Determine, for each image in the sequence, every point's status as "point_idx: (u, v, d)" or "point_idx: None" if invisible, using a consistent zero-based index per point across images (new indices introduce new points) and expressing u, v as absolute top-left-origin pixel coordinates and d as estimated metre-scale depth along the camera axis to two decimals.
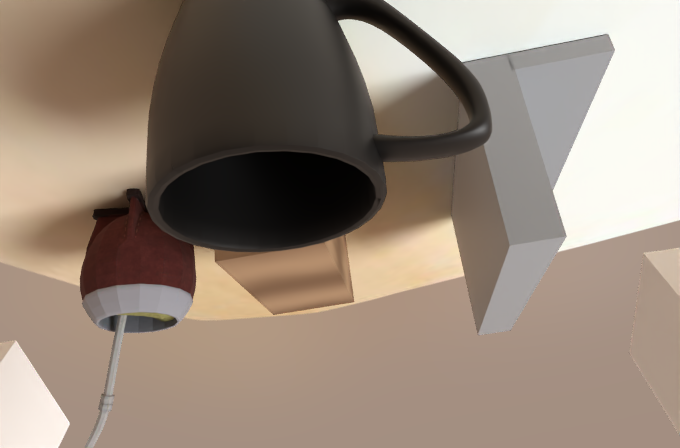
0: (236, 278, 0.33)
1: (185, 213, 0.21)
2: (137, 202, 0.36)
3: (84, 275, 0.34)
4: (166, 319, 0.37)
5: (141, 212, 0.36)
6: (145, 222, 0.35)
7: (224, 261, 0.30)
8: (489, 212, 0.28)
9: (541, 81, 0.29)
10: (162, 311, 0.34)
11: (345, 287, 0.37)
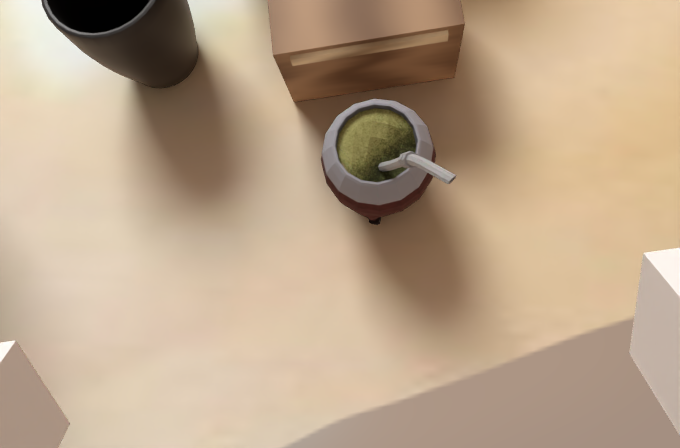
0: (321, 44, 0.35)
1: None
2: None
3: (337, 197, 0.34)
4: (403, 124, 0.33)
5: None
6: None
7: (275, 48, 0.35)
8: None
9: None
10: (349, 111, 0.33)
11: None
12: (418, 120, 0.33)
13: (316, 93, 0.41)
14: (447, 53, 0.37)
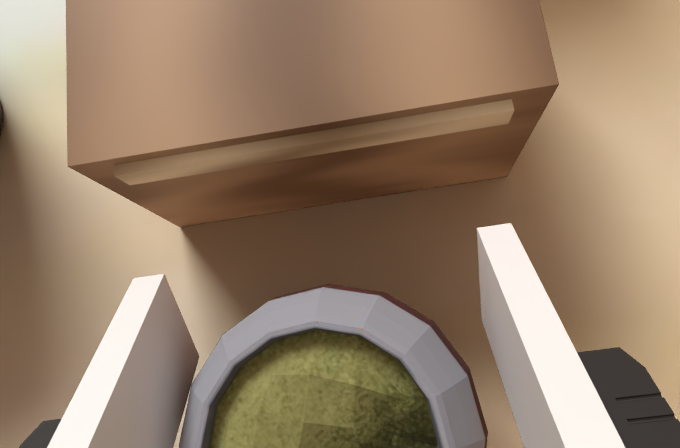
0: (187, 140, 0.14)
1: None
2: None
3: None
4: (399, 383, 0.11)
5: None
6: None
7: (75, 148, 0.14)
8: None
9: None
10: (244, 346, 0.11)
11: None
12: (442, 369, 0.11)
13: (219, 213, 0.20)
14: (501, 142, 0.16)
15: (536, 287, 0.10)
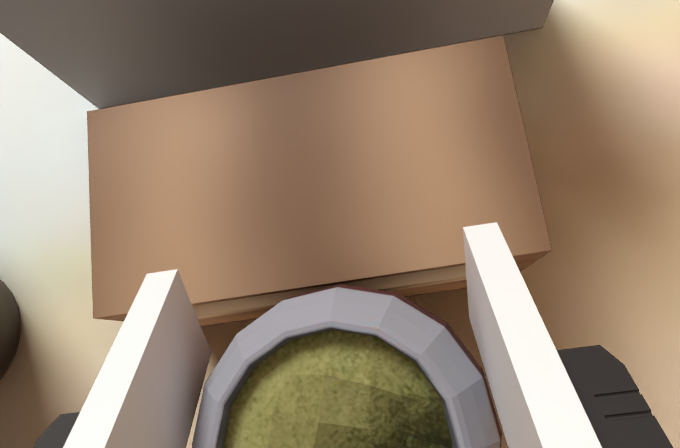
0: (205, 295, 0.15)
1: None
2: None
3: None
4: (415, 384, 0.11)
5: None
6: None
7: (100, 300, 0.15)
8: None
9: None
10: (259, 345, 0.11)
11: (367, 63, 0.15)
12: (458, 370, 0.11)
13: (230, 319, 0.21)
14: None
15: (519, 285, 0.10)
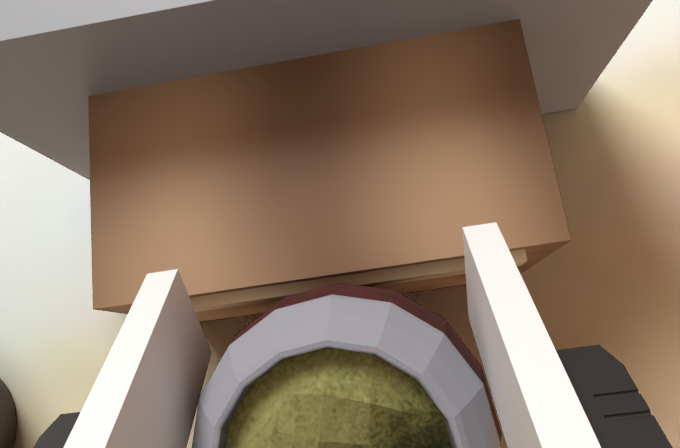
0: (210, 286, 0.14)
1: None
2: None
3: None
4: (415, 399, 0.11)
5: None
6: None
7: (100, 290, 0.14)
8: (57, 97, 0.16)
9: None
10: (253, 367, 0.11)
11: (379, 47, 0.15)
12: (459, 383, 0.11)
13: (234, 314, 0.20)
14: None
15: (518, 285, 0.10)
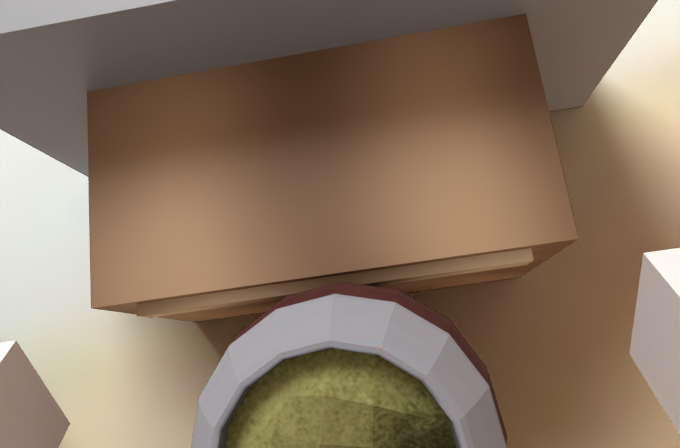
0: (210, 285, 0.14)
1: None
2: None
3: None
4: (420, 402, 0.11)
5: None
6: None
7: (98, 289, 0.14)
8: (55, 93, 0.15)
9: None
10: (254, 368, 0.11)
11: (382, 42, 0.15)
12: (465, 385, 0.11)
13: (234, 313, 0.20)
14: None
15: None
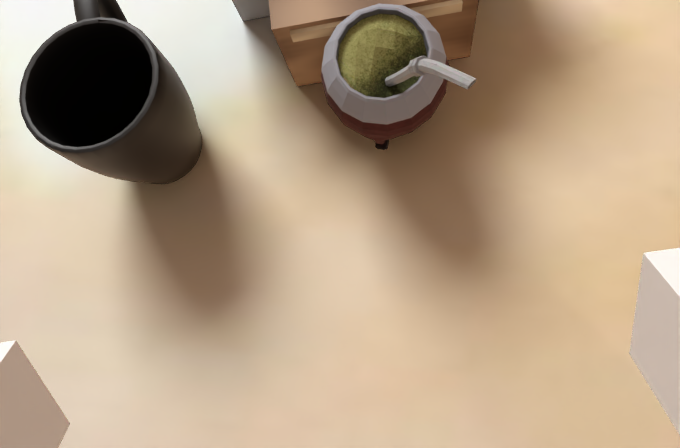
0: (323, 17, 0.32)
1: None
2: None
3: (340, 118, 0.31)
4: (412, 31, 0.29)
5: None
6: None
7: (274, 22, 0.32)
8: None
9: None
10: (350, 18, 0.29)
11: None
12: (429, 26, 0.29)
13: (320, 76, 0.38)
14: (462, 27, 0.34)
15: None
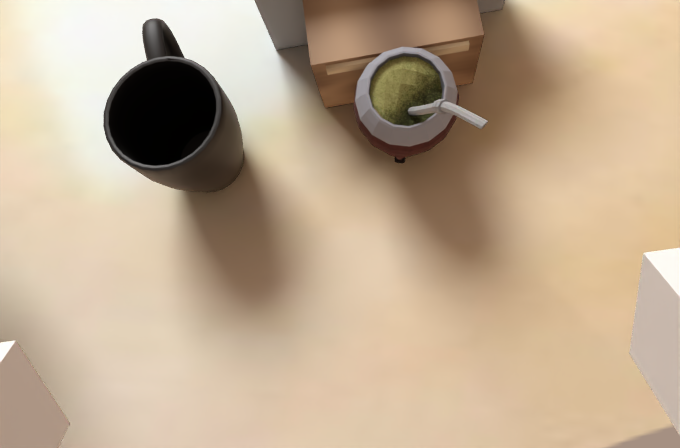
0: (354, 55, 0.38)
1: None
2: None
3: (369, 140, 0.38)
4: (430, 71, 0.35)
5: None
6: None
7: (312, 58, 0.39)
8: None
9: None
10: (380, 60, 0.35)
11: None
12: (444, 66, 0.35)
13: (345, 99, 0.44)
14: (467, 61, 0.41)
15: None
